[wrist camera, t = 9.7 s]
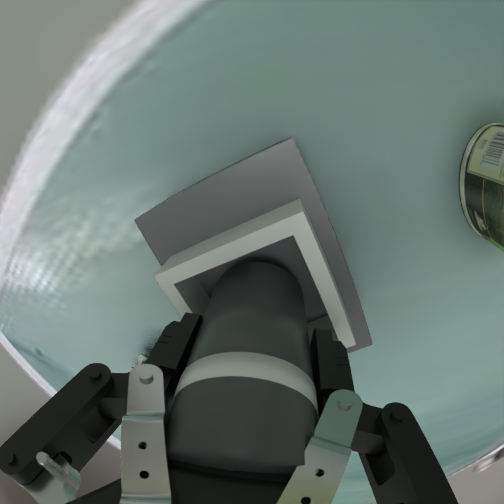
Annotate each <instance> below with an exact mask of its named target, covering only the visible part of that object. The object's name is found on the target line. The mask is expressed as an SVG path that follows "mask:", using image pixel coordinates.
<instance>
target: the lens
mask: <svg viewBox="0 0 504 504" xmlns="http://www.w3.org/2000/svg"><path fill="white" fill-rule="evenodd" d="M318 418H319V414H318V404H317V394H316V388H315V385H314V378H313V369H312V360H311V351H310V343H309V335H308V327H307V319H306V312H305V305H304V298H303V293H302V289H301V287H300V285H299V283H298V282H297V281H296V279H295V278H294V277H293V276H292V275H291V274H290V273H288V272H287V271H286V270H284V269H282V268H280V267H278V266H276V265H273V264H269V263H264V262H249V263H243V264H240V265H237V266H235V267H233V268H231V269H229V270H228V271H226V272H225V273H224V274H223V275H222V276H221V277H220V278H219V280H218V281H217V283H216V285H215V287H214V289H213V292H212V295H211V298H210V300H209V303H208V306H207V308H206V311H205V314H204V317H203V319H202V322H201V325H200V328H199V330H198V333H197V336H196V339H195V342H194V344H193V347H192V350H191V353H190V356H189V358H188V361H187V364H186V367H185V370H184V372H183V373H182V375H181V377H180V380H179V383H178V386H177V388H176V391H175V394H174V397H173V401H172V408H171V411H170V413H169V416H168V419H167V431H166V447H167V454H168V456H169V461H173V460H175V461H180V462H185V463H190V464H195V465H201V466H207V467H213V468H220V469H224V470H227V471H246V472H258V473H277V474H288V477H289V478H291V477H292V475H293V473H294V471H295V469H296V468H297V466H298V465H305V450H306V448H307V446H308V444H309V441H310V439H311V437H312V436H314V435H315V431H314V430H315V428H316V426H317V424H318ZM317 477H318V476H317Z"/></svg>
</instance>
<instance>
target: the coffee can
mask: <svg viewBox="0 0 504 504" xmlns="http://www.w3.org/2000/svg"><path fill="white" fill-rule="evenodd" d="M460 197H461V203H462V207H463V211H464V214H465V217H466V219H467V221H468V223H469V224H470V226H471V227H472V229H473V230H474V231H475V232H476V233H477V234H478V235H480V236H481V237H483V238H485V239H487V240H489V241H490V242H491V243H493V244H494V245H496V246H497V247H498V248H500V249H501V250H502V251H504V124H502V123H490V124H487V125H485V126H483V127H482V128H480V129H479V130H478V131H477V132H476V133H475V134H474V136H473V137H472V138H471V140H470V142H469V143H468V145H467V148H466V150H465V153H464V156H463V160H462V164H461V169H460Z"/></svg>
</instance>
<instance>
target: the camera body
mask: <svg viewBox="0 0 504 504" xmlns="http://www.w3.org/2000/svg"><path fill="white" fill-rule="evenodd" d="M135 222H136V224H137V226H138V228H139V229H140V231H141V233H142V234H143V236H144V238H145V240H146V241H147V243H148V245H149V246H150V248H151V250H152V251H153V253H154V255H155V256H156V258H157V260H158V261H159V263H160V265H161V266H162V267H161V268H160V269H159V271H158V272H157V273H156V274H155V275H154V277H155V279H156V281H157V282H158V284H159V285H160V287H161V288H162V290H163V291H164V293H165V294H166V296H167V297H168V299H169V300H170V302H171V303H172V305H173V306H174V308H175V309H176V311H177V312H178V314H179V315H180V316H181V318H182V317H183V315H184V314H185V312H188V313H195V314H201V315H202V319H203V317H204V314H205V311H206V308H207V306H208V303H209V300H210V298H211V295H212V292H213V289H214V287H215V285H216V283H217V281H218V280H219V278H220V277H221V276H222V275H223V274H224V273H225V272H226V271H228V270H229V269H231V268H233V267H235V266H237V265H240V264H243V263H249V262H264V263H269V264H273V265H276V266H278V267H280V268H282V269H284V270H286V271H287V272H288V273H290V274H291V275H292V276H293V277H294V278H295V279H296V281H297V282H298V283H299V285H300V287H301V289H302V293H303V298H304V305H305V312H306V319H307V327H308V335H309V343H311V339H312V335H313V331H314V328H320V329H331V332H332V338H333V341H341V342H342V343H343V345H344V346H345V347H346V349H347V353H350V352H353V351H356V350H359V349H361V348H364V347H367V346H370V345H372V340H371V337H370V333H369V330H368V327H367V323H366V320H365V317H364V314H363V311H362V308H361V305H360V302H359V299H358V296H357V293H356V290H355V287H354V284H353V281H352V278H351V275H350V272H349V270H348V267H347V264H346V261H345V259H344V256H343V253H342V251H341V248H340V245H339V243H338V240H337V237H336V235H335V232H334V230H333V227H332V225H331V222H330V220H329V217H328V215H327V212H326V210H325V208H324V205H323V203H322V200H321V198H320V196H319V193H318V191H317V189H316V187H315V184H314V182H313V180H312V177H311V175H310V173H309V171H308V169H307V166H306V164H305V162H304V160H303V158H302V156H301V153H300V151H299V149H298V147H297V145H296V143H295V141H294V139H293V138H292V137H290V138H288V139H285V140H283V141H281V142H279V143H276V144H274V145H272V146H270V147H268V148H265V149H263V150H261V151H259V152H257V153H255V154H253V155H251V156H248V157H246V158H244V159H242V160H240V161H238V162H236V163H234V164H232V165H230V166H228V167H226V168H224V169H222V170H220V171H218V172H216V173H214V174H212V175H210V176H209V177H207V178H205V179H203V180H201V181H199V182H197V183H195V184H193V185H192V186H190V187H188V188H186V189H184V190H183V191H181V192H179V193H177V194H175V195H174V196H172V197H170V198H168V199H166V200H165V201H163V202H162V203H160V204H158V205H157V206H155V207H154V208H152V209H150V210H149V211H147V212H146V213H144V214H143V215H141V216H139V217H138V218H136V219H135Z"/></svg>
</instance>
